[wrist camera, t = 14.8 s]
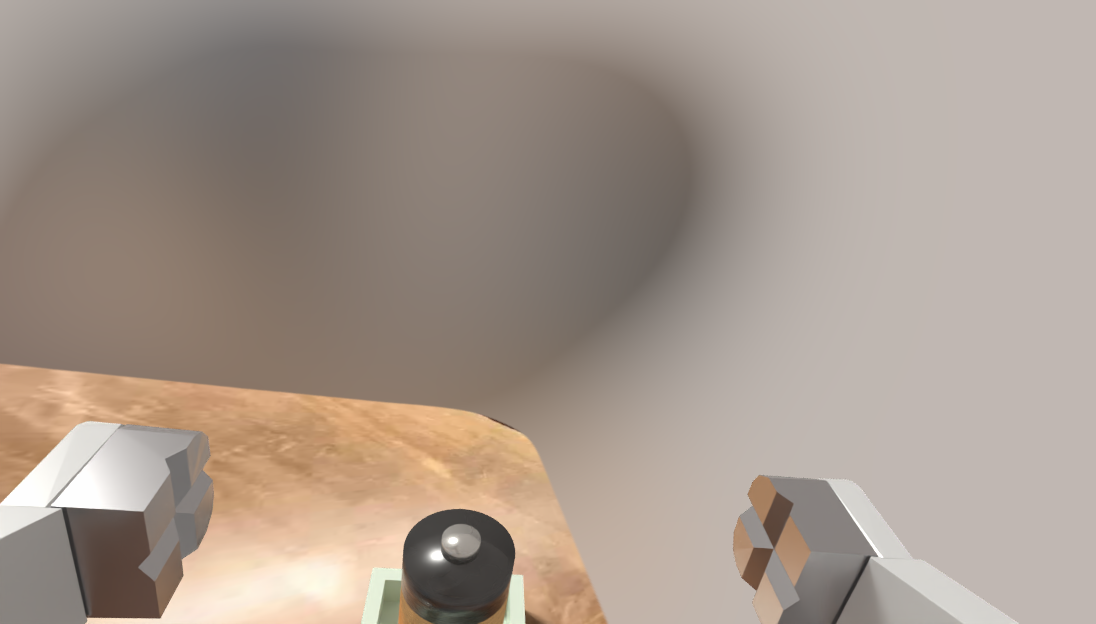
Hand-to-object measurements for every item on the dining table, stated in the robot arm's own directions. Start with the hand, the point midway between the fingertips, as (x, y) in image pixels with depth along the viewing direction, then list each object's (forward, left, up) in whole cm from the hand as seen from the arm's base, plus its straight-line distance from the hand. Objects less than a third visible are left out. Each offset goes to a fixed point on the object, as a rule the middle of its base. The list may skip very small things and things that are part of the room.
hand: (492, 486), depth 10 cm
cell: (-7, +10, -25) cm, 28 cm away
